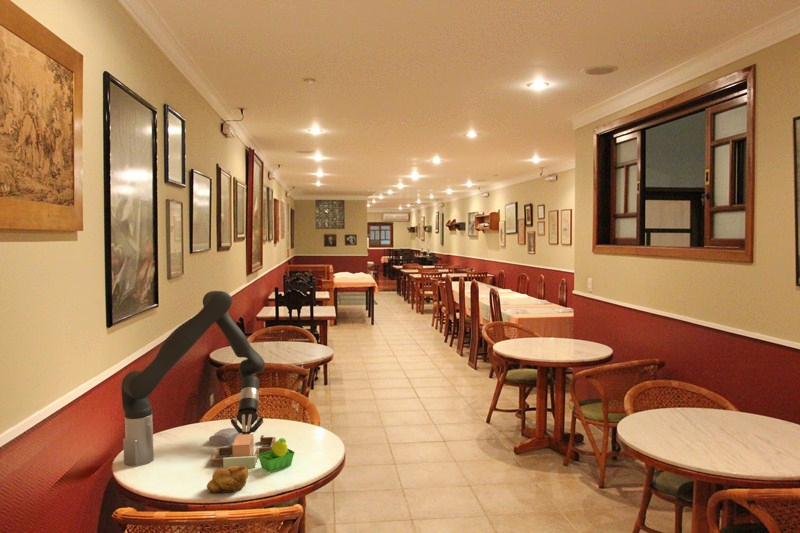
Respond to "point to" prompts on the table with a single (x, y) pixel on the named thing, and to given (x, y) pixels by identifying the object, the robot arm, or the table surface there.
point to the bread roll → (228, 479)
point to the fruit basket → (276, 457)
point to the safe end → (239, 462)
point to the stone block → (224, 436)
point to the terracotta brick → (243, 445)
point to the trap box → (226, 451)
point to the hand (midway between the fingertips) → (245, 442)
